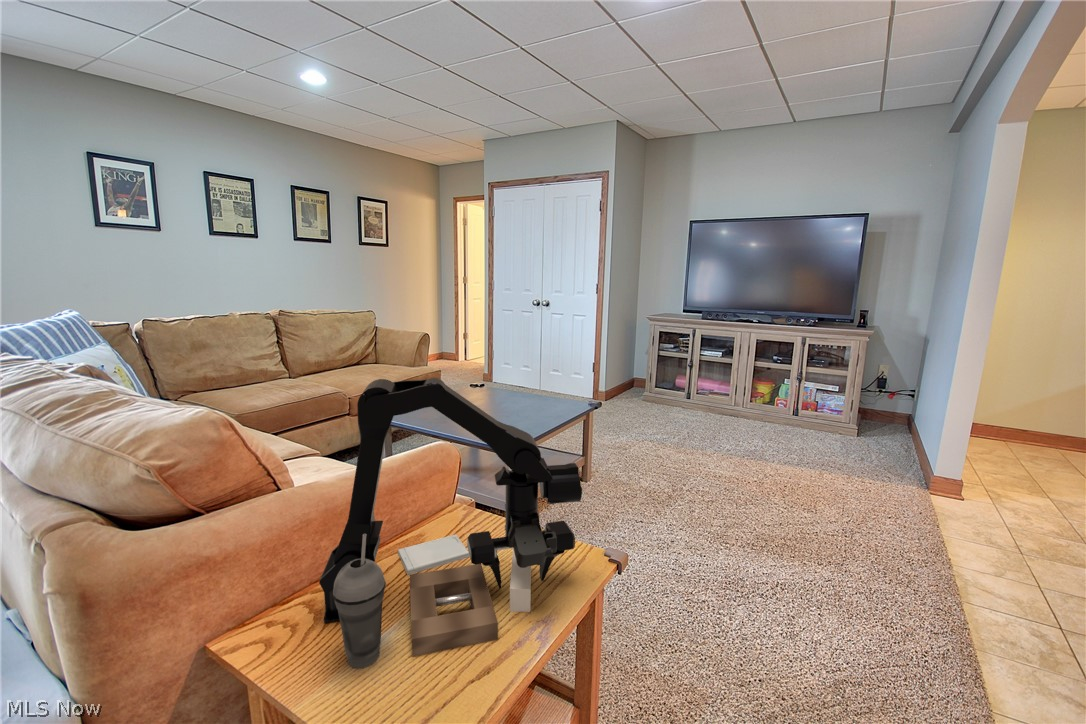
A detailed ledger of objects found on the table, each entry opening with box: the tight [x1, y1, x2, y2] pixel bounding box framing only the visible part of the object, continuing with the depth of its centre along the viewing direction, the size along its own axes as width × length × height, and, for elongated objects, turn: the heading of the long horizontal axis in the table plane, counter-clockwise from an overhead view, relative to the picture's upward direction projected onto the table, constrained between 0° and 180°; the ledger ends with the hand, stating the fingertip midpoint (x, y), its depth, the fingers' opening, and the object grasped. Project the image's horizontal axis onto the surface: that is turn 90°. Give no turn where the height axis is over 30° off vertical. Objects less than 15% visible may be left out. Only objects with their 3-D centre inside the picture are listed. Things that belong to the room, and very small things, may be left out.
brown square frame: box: [408, 564, 499, 658], centre depth 81 cm, size 13×16×3 cm
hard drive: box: [397, 533, 470, 576], centre depth 98 cm, size 2×8×12 cm
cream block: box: [509, 548, 532, 613], centre depth 87 cm, size 4×12×4 cm, turn 1°
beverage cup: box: [332, 534, 387, 670], centre depth 70 cm, size 7×7×20 cm
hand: (521, 583), depth 88 cm, fingers open, 8 cm apart
